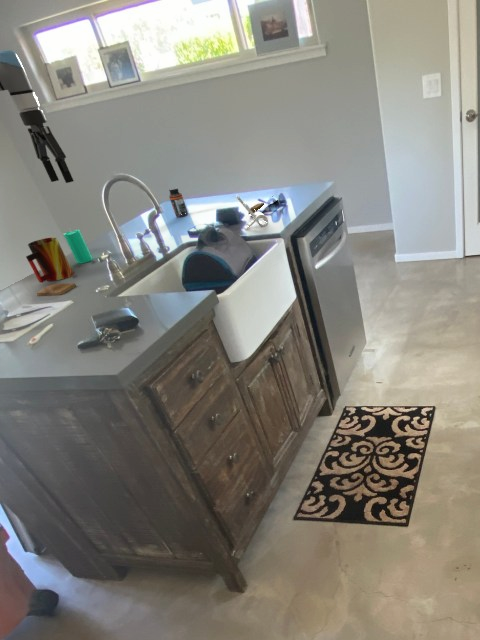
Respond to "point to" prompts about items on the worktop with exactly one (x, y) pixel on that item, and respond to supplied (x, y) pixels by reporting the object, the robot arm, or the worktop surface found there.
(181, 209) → the supplement bottle
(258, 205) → the tap handle
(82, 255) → the candle
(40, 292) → the cork mat
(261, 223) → the plastic part
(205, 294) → the worktop surface
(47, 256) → the mug
